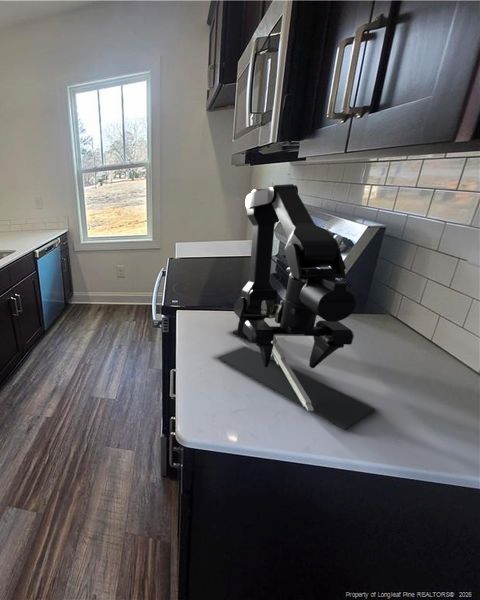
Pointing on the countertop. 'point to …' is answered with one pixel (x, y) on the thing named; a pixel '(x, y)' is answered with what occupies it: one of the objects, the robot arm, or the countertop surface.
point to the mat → (321, 396)
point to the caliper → (290, 375)
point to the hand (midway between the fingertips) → (288, 366)
